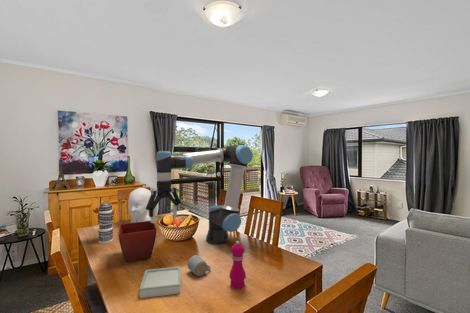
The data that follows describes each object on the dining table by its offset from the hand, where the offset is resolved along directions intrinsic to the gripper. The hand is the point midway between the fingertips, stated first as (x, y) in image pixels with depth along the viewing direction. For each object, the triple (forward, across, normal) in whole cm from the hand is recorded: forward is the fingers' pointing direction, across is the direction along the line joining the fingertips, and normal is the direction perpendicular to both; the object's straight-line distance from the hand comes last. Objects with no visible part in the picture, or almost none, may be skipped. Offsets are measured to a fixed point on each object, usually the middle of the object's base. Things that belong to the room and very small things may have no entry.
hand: (164, 219), depth 128 cm
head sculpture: (+23, -27, -72) cm, 80 cm away
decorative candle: (+23, +6, -57) cm, 62 cm away
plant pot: (+23, +5, -19) cm, 30 cm away
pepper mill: (+23, -7, +44) cm, 50 cm away
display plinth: (+23, +14, +18) cm, 32 cm away
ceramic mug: (+23, -5, +22) cm, 33 cm away
